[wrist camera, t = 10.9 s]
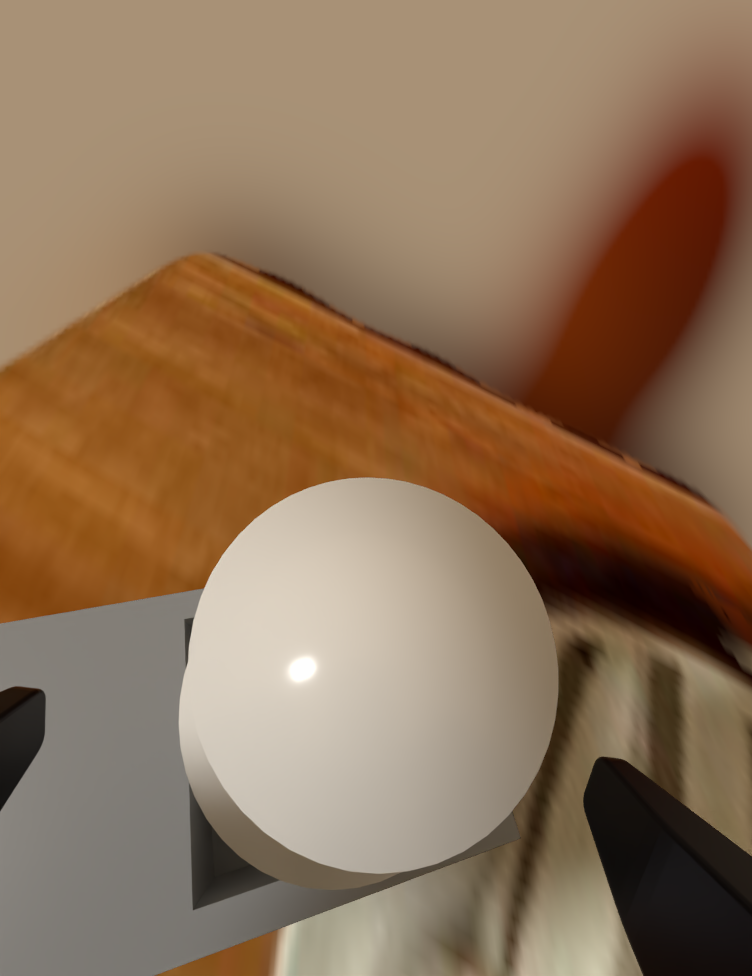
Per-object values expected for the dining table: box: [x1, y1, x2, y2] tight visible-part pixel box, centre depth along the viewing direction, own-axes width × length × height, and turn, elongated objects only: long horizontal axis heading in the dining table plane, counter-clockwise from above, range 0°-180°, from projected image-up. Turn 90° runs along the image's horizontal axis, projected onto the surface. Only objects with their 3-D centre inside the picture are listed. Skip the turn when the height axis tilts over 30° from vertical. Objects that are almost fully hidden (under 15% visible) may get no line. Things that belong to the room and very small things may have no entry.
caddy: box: [0, 589, 521, 976], centre depth 12 cm, size 8×20×4 cm, turn 104°
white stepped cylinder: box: [179, 478, 558, 890], centre depth 9 cm, size 5×5×12 cm
